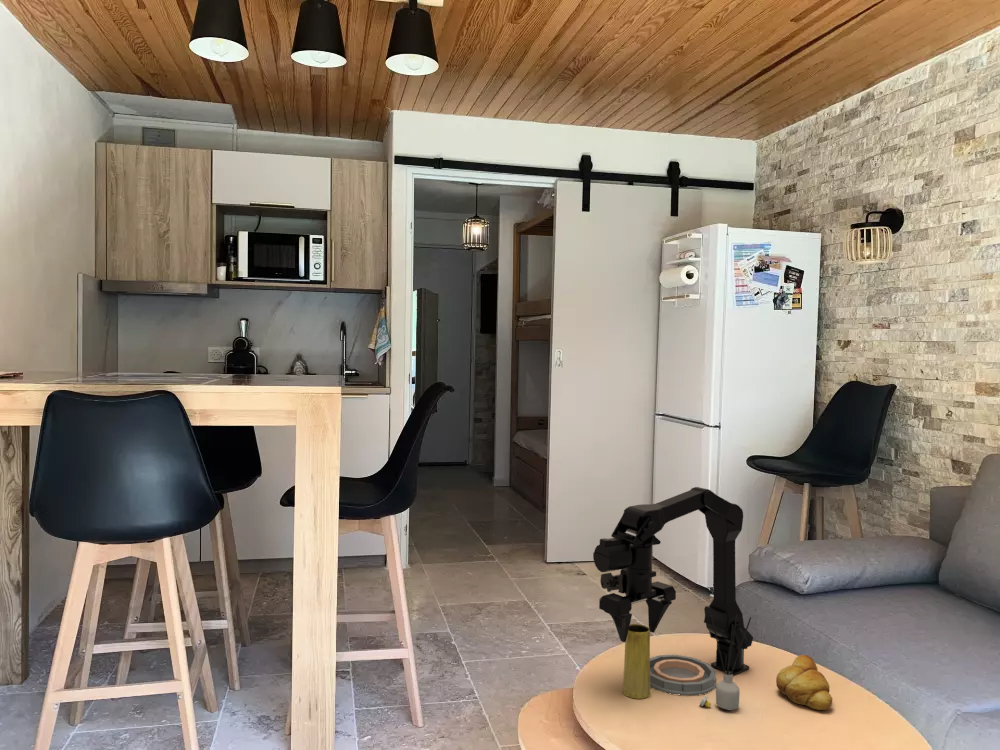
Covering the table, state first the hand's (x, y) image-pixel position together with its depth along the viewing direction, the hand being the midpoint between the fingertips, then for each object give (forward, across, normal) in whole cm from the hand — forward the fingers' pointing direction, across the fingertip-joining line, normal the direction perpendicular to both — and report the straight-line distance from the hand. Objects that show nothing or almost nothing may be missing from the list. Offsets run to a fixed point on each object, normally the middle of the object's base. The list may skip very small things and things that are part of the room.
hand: (637, 636), depth 161 cm
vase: (+13, 0, 0) cm, 13 cm away
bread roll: (+13, -27, +24) cm, 38 cm away
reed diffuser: (+13, -9, +16) cm, 23 cm away
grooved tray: (+12, -13, +1) cm, 18 cm away
